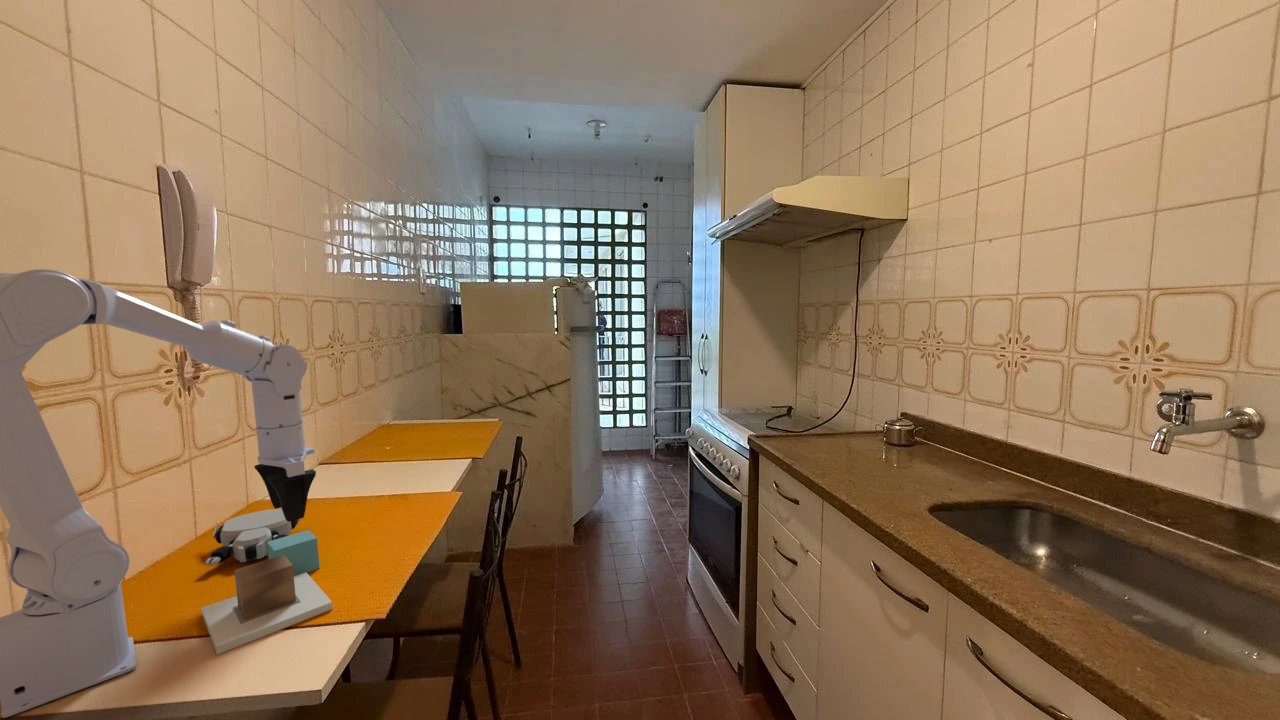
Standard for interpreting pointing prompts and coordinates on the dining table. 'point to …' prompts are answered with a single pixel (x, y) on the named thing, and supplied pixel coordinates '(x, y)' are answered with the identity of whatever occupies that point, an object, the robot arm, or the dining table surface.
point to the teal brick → (297, 551)
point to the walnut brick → (265, 586)
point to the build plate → (262, 616)
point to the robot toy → (249, 535)
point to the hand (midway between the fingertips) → (288, 512)
